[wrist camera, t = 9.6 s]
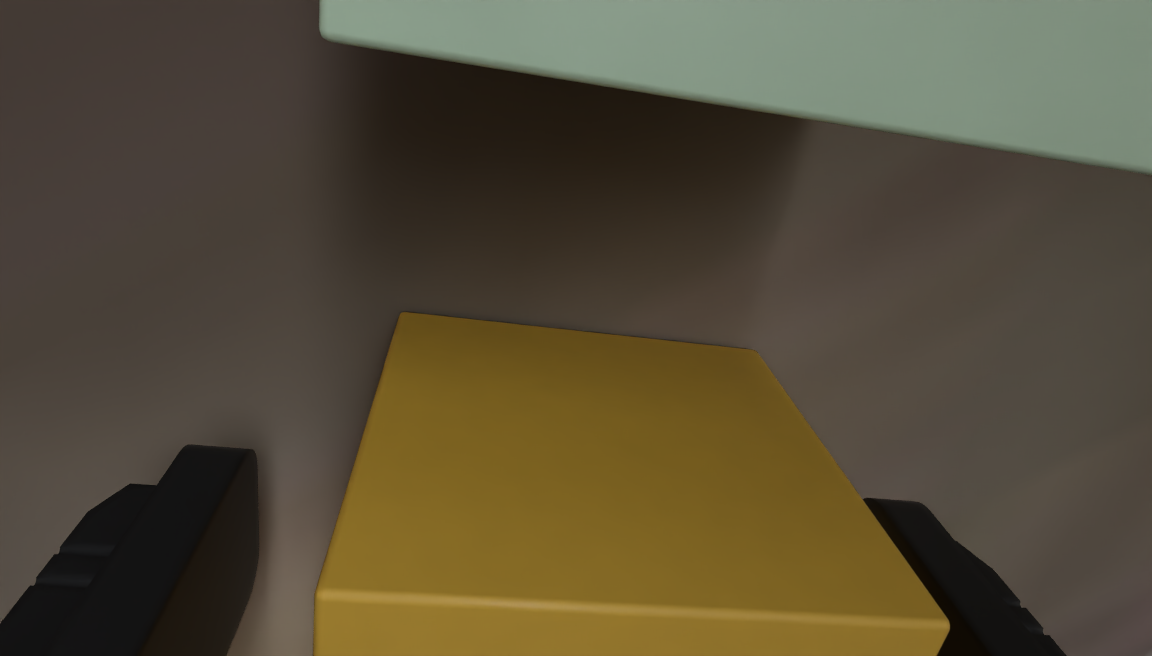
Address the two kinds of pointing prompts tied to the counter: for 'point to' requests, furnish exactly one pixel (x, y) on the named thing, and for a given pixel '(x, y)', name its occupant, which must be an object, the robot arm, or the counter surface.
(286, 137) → the counter surface
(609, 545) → the mustard block
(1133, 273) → the counter surface
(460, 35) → the sage block
